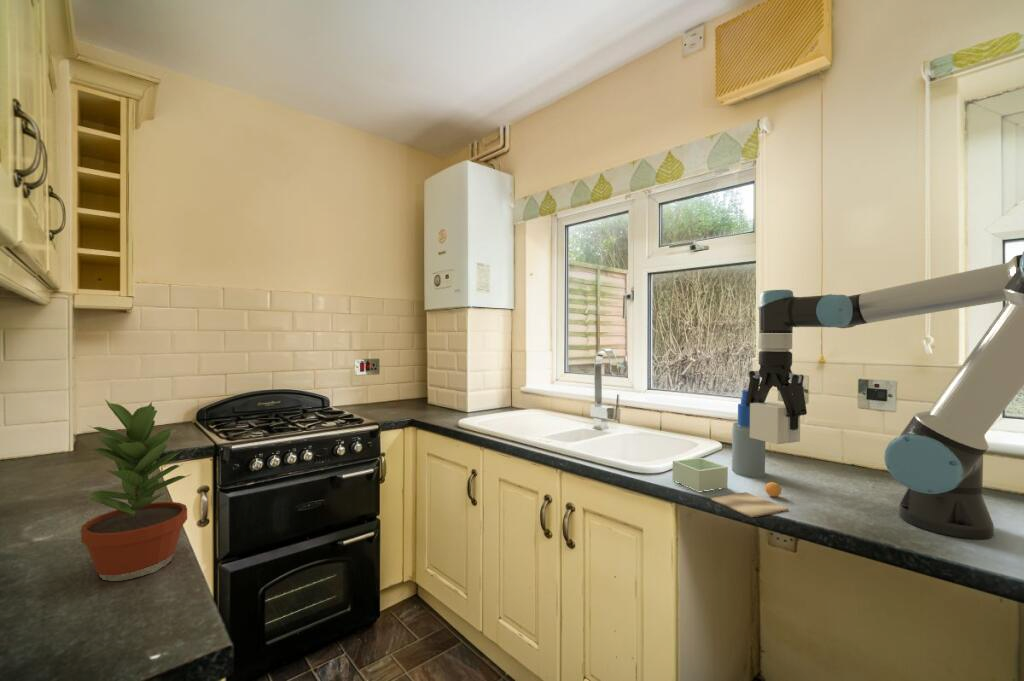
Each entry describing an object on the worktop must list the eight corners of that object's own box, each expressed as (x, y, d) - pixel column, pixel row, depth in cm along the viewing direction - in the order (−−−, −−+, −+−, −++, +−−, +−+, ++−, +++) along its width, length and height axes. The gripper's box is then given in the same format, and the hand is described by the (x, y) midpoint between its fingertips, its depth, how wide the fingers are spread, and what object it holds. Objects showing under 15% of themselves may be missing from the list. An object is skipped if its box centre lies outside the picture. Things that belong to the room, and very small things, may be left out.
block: (799, 441, 114) (800, 406, 114) (777, 444, 112) (777, 407, 111) (771, 435, 122) (771, 401, 122) (749, 437, 119) (749, 403, 119)
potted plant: (189, 571, 79) (188, 400, 78) (70, 599, 70) (68, 407, 70) (194, 538, 91) (193, 390, 91) (93, 559, 83) (91, 395, 82)
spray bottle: (727, 467, 142) (728, 388, 141) (757, 468, 141) (758, 388, 140) (738, 476, 133) (739, 392, 132) (770, 478, 132) (771, 392, 132)
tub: (727, 488, 123) (727, 467, 123) (698, 493, 119) (699, 470, 119) (699, 477, 132) (700, 457, 132) (672, 481, 129) (672, 460, 129)
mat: (788, 510, 108) (788, 508, 108) (751, 517, 103) (751, 515, 103) (745, 493, 119) (745, 492, 119) (710, 499, 114) (710, 498, 114)
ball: (784, 497, 116) (784, 483, 116) (774, 499, 115) (774, 485, 115) (771, 493, 119) (772, 479, 119) (761, 494, 118) (762, 481, 118)
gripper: (826, 351, 108) (824, 446, 108) (751, 349, 127) (750, 429, 128) (804, 352, 105) (803, 449, 106) (731, 349, 125) (730, 431, 125)
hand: (774, 438), depth 117 cm, fingers closed on block, 8 cm apart
